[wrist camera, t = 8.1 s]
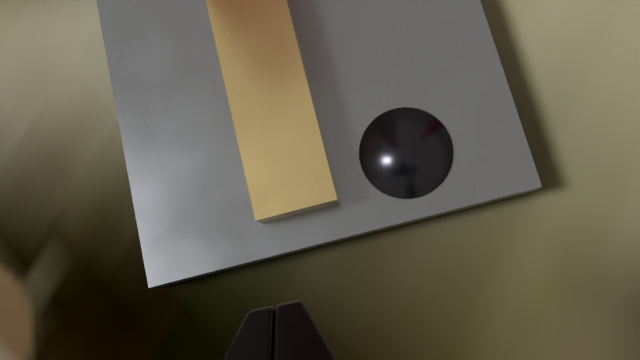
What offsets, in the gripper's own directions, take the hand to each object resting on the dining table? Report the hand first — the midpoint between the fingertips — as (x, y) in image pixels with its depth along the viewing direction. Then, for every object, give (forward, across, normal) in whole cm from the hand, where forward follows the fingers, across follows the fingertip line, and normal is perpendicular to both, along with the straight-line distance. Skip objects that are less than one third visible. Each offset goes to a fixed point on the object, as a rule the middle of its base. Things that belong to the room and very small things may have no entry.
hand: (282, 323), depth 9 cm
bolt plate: (+16, -1, -4) cm, 16 cm away
